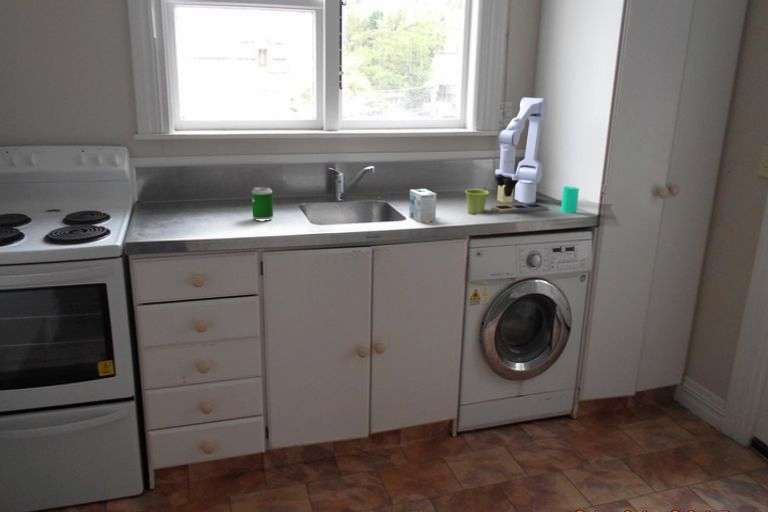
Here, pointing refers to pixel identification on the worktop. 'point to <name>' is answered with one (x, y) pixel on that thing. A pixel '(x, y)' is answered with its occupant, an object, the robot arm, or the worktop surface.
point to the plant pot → (476, 200)
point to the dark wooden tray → (518, 208)
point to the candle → (569, 199)
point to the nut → (503, 194)
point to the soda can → (262, 203)
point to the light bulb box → (422, 205)
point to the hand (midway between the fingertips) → (505, 195)
